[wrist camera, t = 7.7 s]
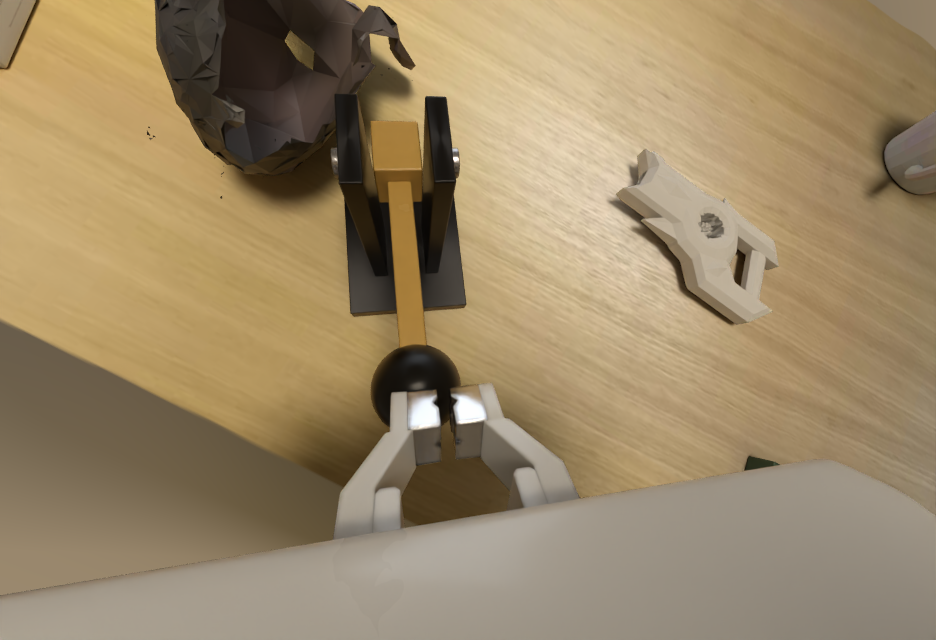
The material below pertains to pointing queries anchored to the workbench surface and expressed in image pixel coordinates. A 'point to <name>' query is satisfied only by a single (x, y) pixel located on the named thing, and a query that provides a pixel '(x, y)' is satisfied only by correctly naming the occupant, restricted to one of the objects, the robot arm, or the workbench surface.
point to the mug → (914, 157)
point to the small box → (12, 26)
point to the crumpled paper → (266, 72)
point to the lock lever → (406, 274)
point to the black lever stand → (372, 217)
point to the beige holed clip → (703, 238)
